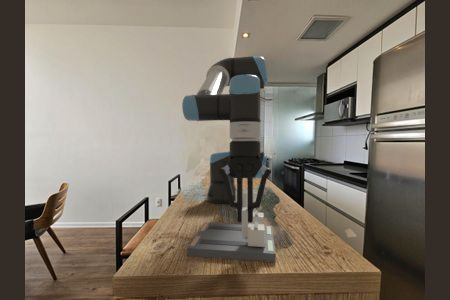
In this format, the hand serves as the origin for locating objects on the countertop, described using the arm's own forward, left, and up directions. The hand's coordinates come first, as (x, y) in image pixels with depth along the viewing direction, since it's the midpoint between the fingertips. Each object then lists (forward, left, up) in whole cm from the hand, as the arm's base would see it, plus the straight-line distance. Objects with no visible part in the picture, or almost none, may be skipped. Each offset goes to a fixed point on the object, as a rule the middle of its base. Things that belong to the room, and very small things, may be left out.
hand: (245, 234), depth 58 cm
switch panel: (-5, -3, -4) cm, 7 cm away
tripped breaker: (0, +3, -2) cm, 3 cm away
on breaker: (-10, +3, -2) cm, 10 cm away
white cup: (-26, -1, -5) cm, 26 cm away
